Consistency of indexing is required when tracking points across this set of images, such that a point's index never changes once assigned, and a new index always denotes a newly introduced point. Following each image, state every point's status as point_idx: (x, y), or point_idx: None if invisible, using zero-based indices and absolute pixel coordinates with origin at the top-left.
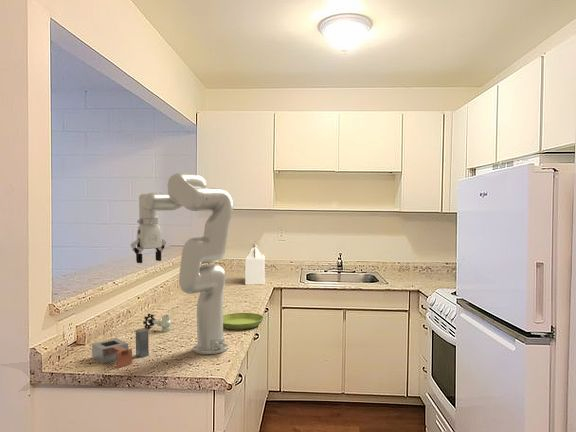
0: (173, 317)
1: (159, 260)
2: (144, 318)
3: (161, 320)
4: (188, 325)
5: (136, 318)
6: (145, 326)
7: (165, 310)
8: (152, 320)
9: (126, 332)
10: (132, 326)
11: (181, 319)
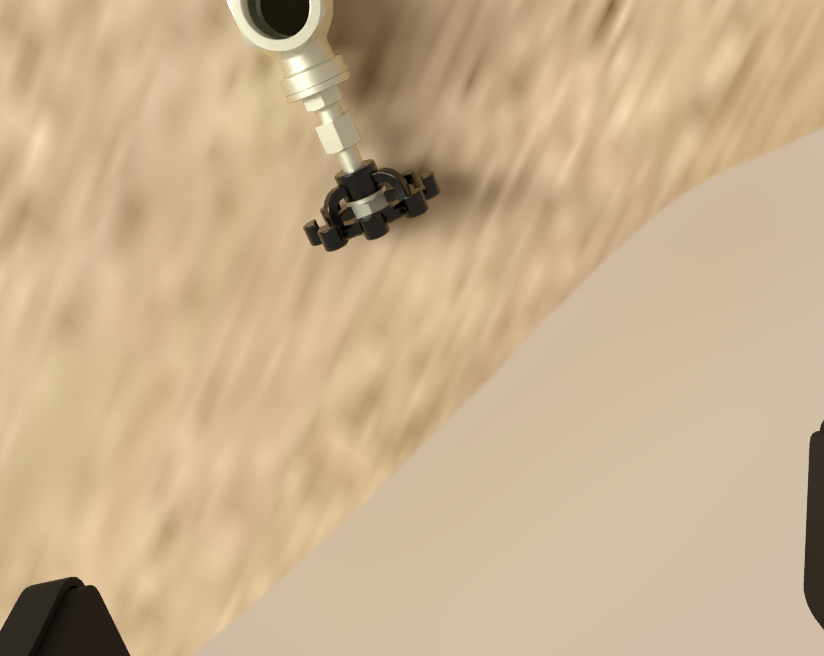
0: (62, 384)
1: (94, 596)
2: (426, 206)
3: (310, 58)
4: (34, 34)
5: (325, 526)
6: (415, 178)
7: None
8: (358, 168)
9: (558, 204)
10: (446, 337)
11: (21, 280)
